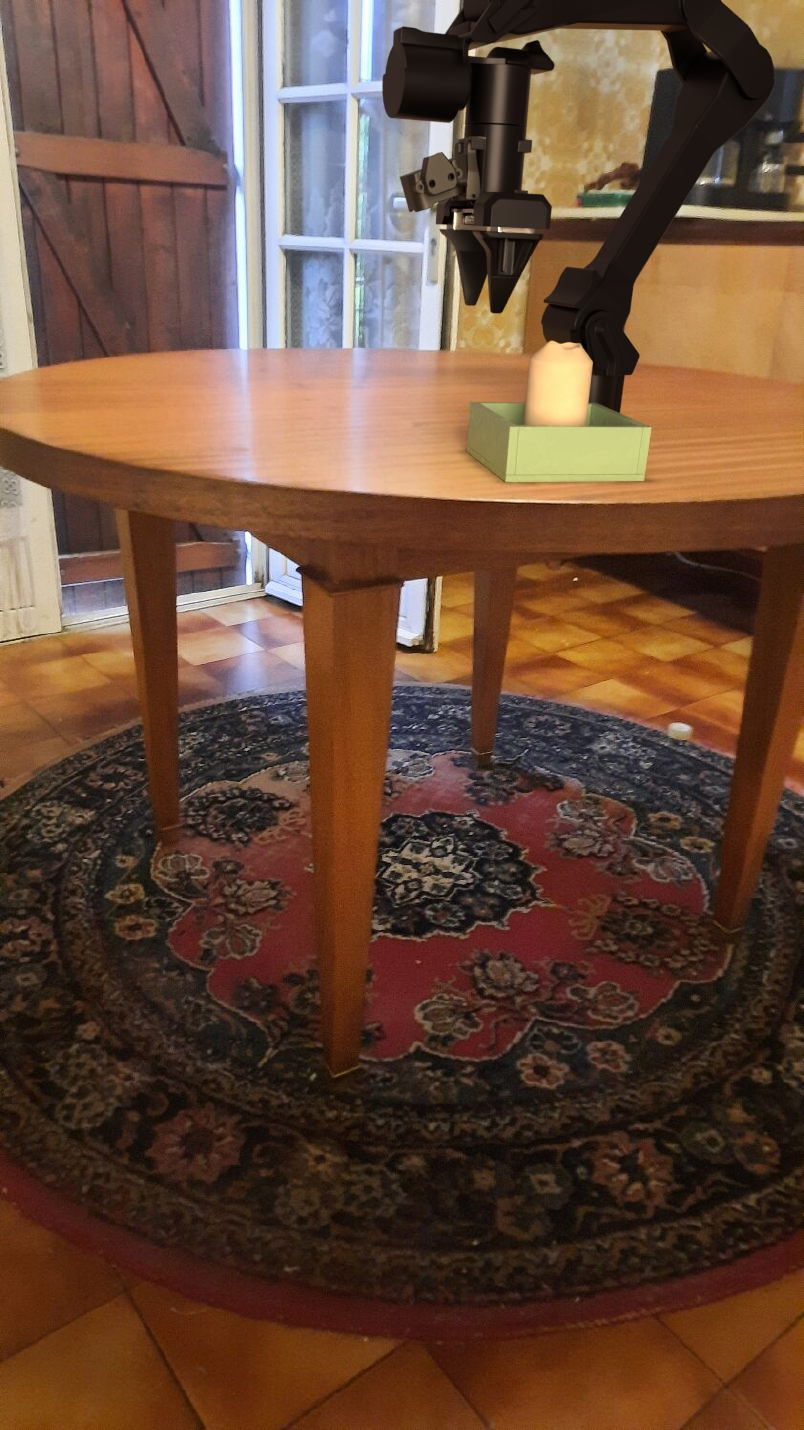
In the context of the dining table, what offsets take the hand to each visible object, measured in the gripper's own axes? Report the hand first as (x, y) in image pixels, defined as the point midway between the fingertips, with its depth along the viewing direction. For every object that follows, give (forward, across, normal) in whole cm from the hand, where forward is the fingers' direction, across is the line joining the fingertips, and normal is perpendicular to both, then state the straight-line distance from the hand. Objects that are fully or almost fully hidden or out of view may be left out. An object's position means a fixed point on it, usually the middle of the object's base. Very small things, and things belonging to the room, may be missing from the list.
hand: (482, 309), depth 100 cm
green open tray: (+12, +16, +3) cm, 20 cm away
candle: (+12, +15, +3) cm, 19 cm away
